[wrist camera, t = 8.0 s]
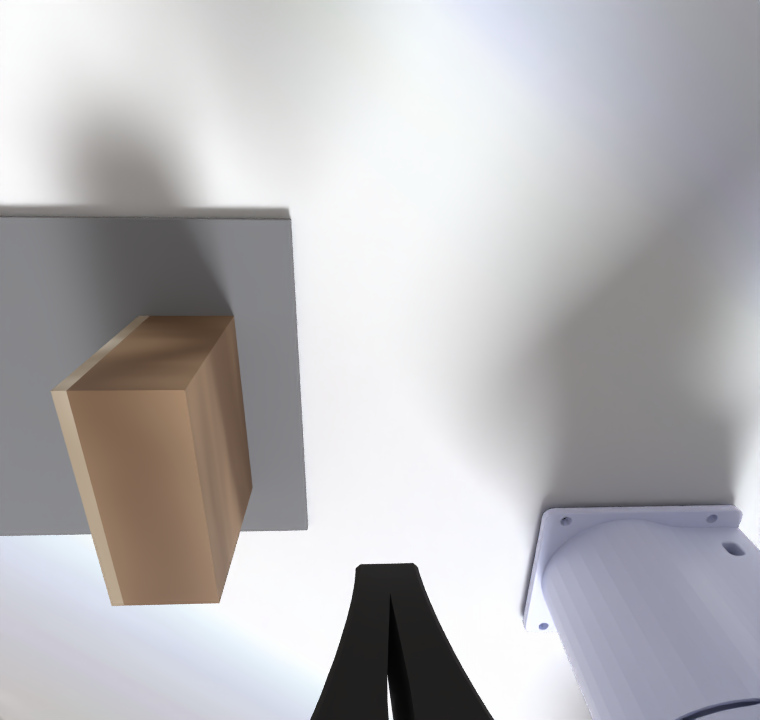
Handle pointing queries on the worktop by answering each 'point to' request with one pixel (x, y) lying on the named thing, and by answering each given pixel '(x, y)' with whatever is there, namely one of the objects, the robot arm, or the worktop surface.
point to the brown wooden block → (161, 456)
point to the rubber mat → (117, 310)
